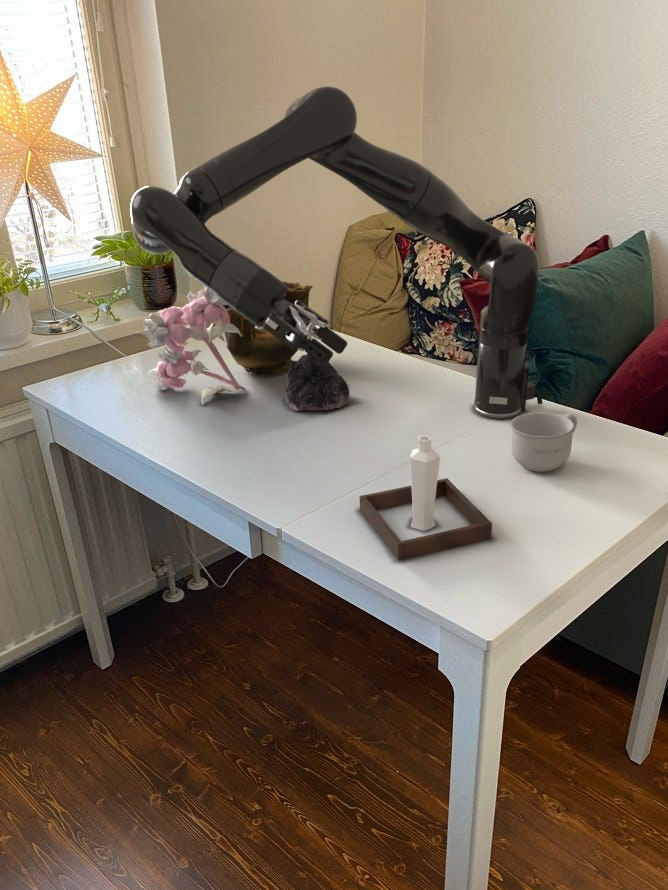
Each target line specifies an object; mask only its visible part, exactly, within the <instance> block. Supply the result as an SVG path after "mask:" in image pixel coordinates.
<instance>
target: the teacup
mask: <svg viewBox="0 0 668 890" xmlns="http://www.w3.org/2000/svg"><path fill="white" fill-rule="evenodd" d="M577 426H578V418H577V416H576V415H575V414H573V413H570V412H569V413H565V414H564V415H562V414H558V413H555V412H547V411H545V412H544V411H542V412H541V411H538V412H537V411H536V412H528V413H527V412H526V413H524V414H519V415H517V416H515V417H513V419H512V420H511V422H510V427H511V431H510V435H511V436H510V444H511V445H510V447H511V455H512V457H513V458H514V460H515V461H516V462H517V463H518V464H520V465H521V466H522V467H523V468H524V469H526V470H529V471H533V472H540V473H541V472H543V473H544V472H550V471H553V470H556V469H558V468H559V467H561V466H562V465H563V464H565V463H566V462H567V461H568V460H569V458H570V456H571V452H572V446H573V434H574V433H575V431H576V429H577Z"/></svg>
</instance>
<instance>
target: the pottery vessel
mask: <svg viewBox="0 0 668 890" xmlns="http://www.w3.org/2000/svg"><path fill="white" fill-rule="evenodd" d="M281 281H282V282H283V283H285V284H286V285H287V288H288V291H287V294H286V295H285V299H286V300H287V301H288V302H290V303H292V304H295V302H296V301H297V300H299V301H301V302H302V303H304V304H305V305H306V306H308V307H309V301H310V291H311V290H312V289H313V287H314V286H313V285H308V284H304V285H303V284H302V285H301V284H300V282H287V281H283V280H281ZM221 306H223V307H224V308H226V310H227V312H228V314H229V316H230V324H233V325H234V326H235V327H236V328H238V329H239V331H240V333H241V335H242V336H240V335H239V334H238V333H225V332H223V333H224V337H225V338H224V339H225V342H226V349H227V350H228V352H229V353H230V355H231V357H232V358H233V360H234V362H235V363H236V364H237V365H239V366H241V367H242V368H243V369H244V370H245V372H246V373H247V374H250V373H251V374H252V375H254V376H262V377H263V376H276V375H280V374H284V373H286V372H288V369H289V365H290V364H291V363H293V362H294V361H295V360H293V359H292V358H293V356H295V355H296V353H297V352H298V351H299V350H298V349H297V350H296V351H294V350H292V349H291V348H289V347H288V346H287V345H285V344H284V343H283V342H281V341H280V340H279V339H277V338H276V337H275V336H274V335H272V334H271V333H270V332H268V331H267V330H265V329H264V328H263V327H257V326H256V325H254V324H253V323H251V322H250V321H249V320H247V319H246V318H245V317H243V316H242V315H241V314H239V313H238V312H236V311H235V310H234V309H232V308H231V307H230V306H228V305H221ZM220 321H221V324H223V319H220Z"/></svg>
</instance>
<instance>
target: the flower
mask: <svg viewBox="0 0 668 890" xmlns="http://www.w3.org/2000/svg"><path fill="white" fill-rule="evenodd" d="M202 286H203V287H202V288H200V290H198V291H196V292H194V293H192V291H191V290H189V292H188V294H187V295H186V298H187V299H188V301H189V302H188V303H187V304H185V305H184V306H183V307H182V308H181V307H179V306H176V305H175V306H171V307H168V308H167V307H164V309H160V310H158V311H157V312H155V313H149V315H148V318H143V319H142V321H143V322H145V324H144V323H142V326H143V328H144V329H141V332H140V331H139V330H136V333H138V334H141V336H144V337H147V338H148V339H145V340H144V341H145V343H147V344H146V346H148V347H150V348H152V349H158V348H159V346H164V349H163V351H162V352H160V351H159V352H158V357H159V358H160V359H161V360H159V361H158V362H157V364H156V367H155V368H153V369H150V370H148V374H147V375H148V376H150V377H151V379H150V380H151V381H150V383H151V384H152V387H153V388H155V387H156V386H161V385H162V386H161V390H166V389H168V388H173V387H174V388H178V389H179V388H180V389H181V388H183V387H184V386H185V385H186V383H187V379H184V378H181V377H183V376H185V375H187V374H188V373H189V372H191V373H192V374H193V375H194V376H198V375H199V374H203V375H205V376H207V377H210V378H212V379H215V380H217V381H219V382H222V383H224V384H227V385H220V386H214V387H213V386H212V387H206V388H204V389H202V390H201V395H200V401H201V406H204V405H205V401H206V398H208V397H210V396H212V395H214V394H215V393H216V394H217V393H218V394H219V393H223V392H229V393H232V392H233V391H238V390H239V391H244V392H246V390H247V388H245V387H244V386H241V385H240V384H239V382H238V381H237V380H236V378H235V377H234V376H233V373H232V372H231V370H230V368H229V367H228V365H227V363H226V361H225V360H224V358H223V357H222V355H221V354H220V352H219V350H218V348H217V346H216V345H215V344H214V342H213V341H214V340H215V339H216V338H219V339H220V340H221V341H222V342H226V339H225V338H224V336H223V333H224V332H225V333H238V334H239V335H240V336H242V335H241V333H240V331H239V329H238V328H236V327H235V326H234V325H233V324H230V316H229V314H228V312H227V310H226V308H224V307H223V306H221V305H227V304H226V303H224V302H223V301H222V300H220V299H219V298H218V297H217V296H216V295H215V294H214V293H213V292H212V291H211V290H209V289H208V288H207V287H205V286H204V285H202ZM221 319H223V324H222V323H221V324H216V323H218V322H219V321H220V320H221ZM225 333H224V334H225ZM190 339H194V340H195V341H202V342H204V343H205V344H206V345H207V347H208V349H209V350H210V351H211V353H212V355H213V356H214V358H215V359H216V361H217V362H218V364H219V366H220V367H221V368H222V370H223V371H224V372H225V374H226V376H227V377H228V378H229V379H228V378H226V377H224V376H222V375H220V374H218V373H214V372H210V371H209V368H207V367H206V366H205V365H204V363H203V362H202V361H201V360H196V357H198V356H199V354H200V353H202V352H203V350H200V349H195V350H192V351H190V350H184V349H185V346H187V345H188V344H189V342H187V341H188V340H190Z"/></svg>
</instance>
